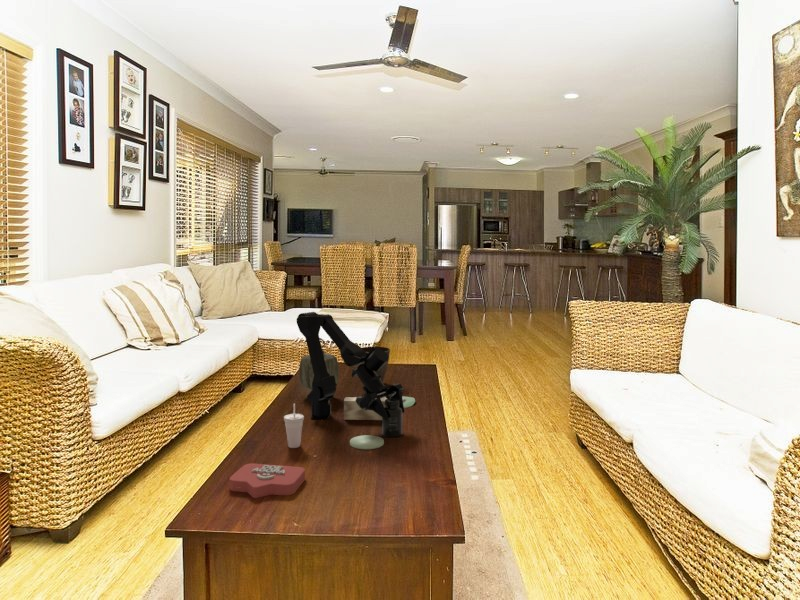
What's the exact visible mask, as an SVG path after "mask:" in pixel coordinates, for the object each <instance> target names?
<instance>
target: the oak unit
mask: <svg viewBox="0 0 800 600" xmlns="http://www.w3.org/2000/svg"><path fill="white" fill-rule="evenodd" d="M357 397H358V396H355V397H354V396H353V397H344V399H343V420H344V421H345V420H347V421H348V420H349V421H352V420H353V421H354V420H357V421H359V420H360V421H365V420H366V421H382V417H381V416H380V415H379V414H377V413H376V412H374V411H373V410H365V409H361V408H360V407H359V405H358V404H357V403H356V401H355V400H356V398H357ZM386 399H387V398H381V401H382V404H383V406H384V407H386V406H385V400H386Z"/></svg>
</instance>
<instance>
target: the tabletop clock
mask: <svg viewBox="0 0 800 600" xmlns="http://www.w3.org/2000/svg"><path fill="white" fill-rule="evenodd" d="M319 339H320V341H322V343H323V345H321V347H322V351H323V356H324V360H325V364H326V368H327V372H328V373H329V374H330V375H331V376H332V375H334V377H335V382H336V384H337V385H338V382H339V362H338V359H337V356H335V355H333V354H330V353H326V352H325V351H324V349H323V348H324V347H325V345H326V342H325V340H324V339H323V338H322V337H321V338H320V337H319ZM313 378H314V372H313V368H312V363H311V359H310V355H309V354H307V355H303V356H302V357H301V359H300V361H299V383H300V386H302V387H303V388H305V389H308V390H310V392H311V391H312V390H313V388H312V382H313ZM334 397H335V395H334V396H333V398H334Z"/></svg>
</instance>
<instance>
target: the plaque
mask: <svg viewBox="0 0 800 600" xmlns="http://www.w3.org/2000/svg"><path fill="white" fill-rule="evenodd" d="M304 481H306V469H305V467H301V466H291V465H290V466H289V465H279V464H278V465H277V464H267V463H264V464H263V463H254V462H253V463H246V464H244V465H243V466H241V467H240V468H239V469H238V470H237V471H236V472H235V473H233V474H232V475H231V476H230V477H229V490H230V491H232V492H239V493H240V492H241V493H247V494H248V495H250V496H251V497H252V498H254V499H258V498H262V497H266V496H270V495H276V496H277V495H278V496H291V495H293V494H295V493H296V492H297V491H298V489H299V488H300V486H302V484H303V483H304ZM231 486H233V487H231ZM236 487H241V488H236Z"/></svg>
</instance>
